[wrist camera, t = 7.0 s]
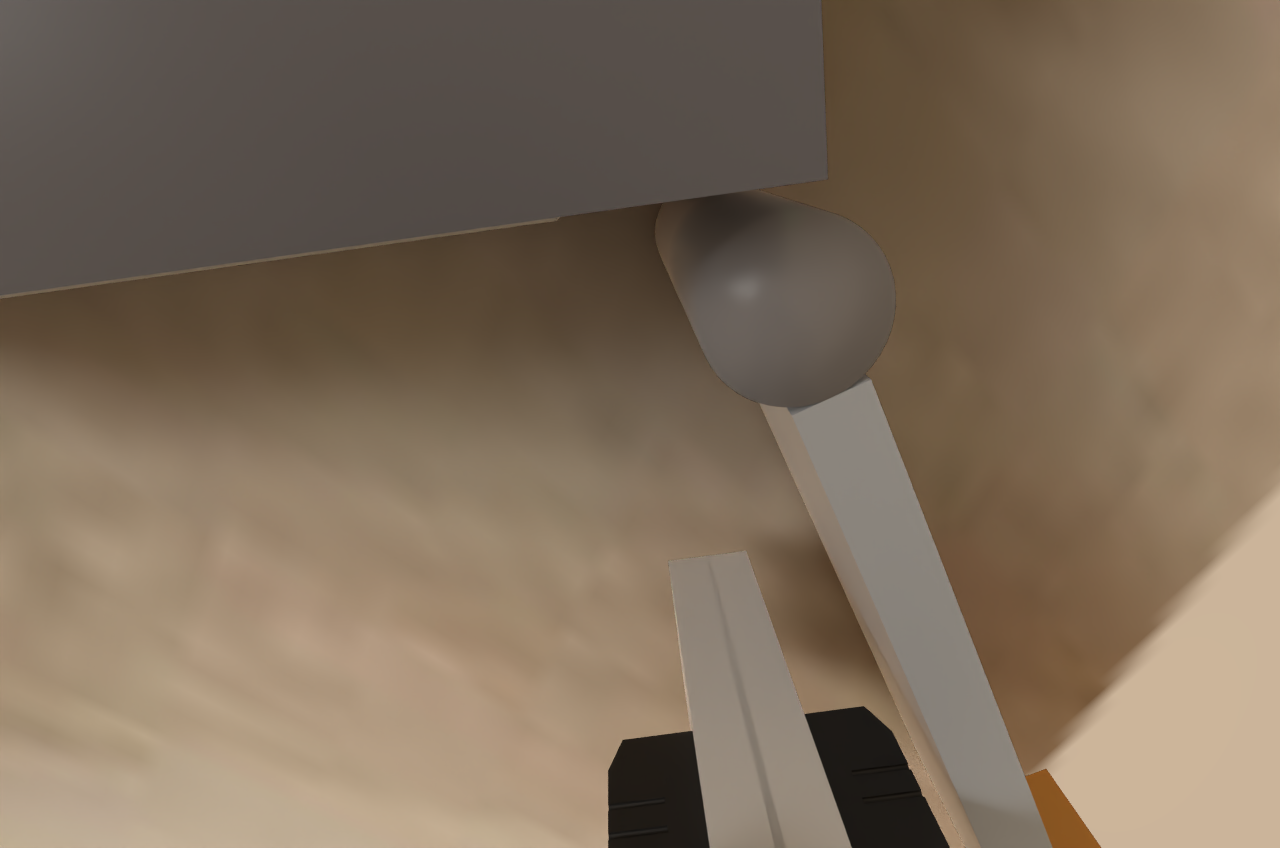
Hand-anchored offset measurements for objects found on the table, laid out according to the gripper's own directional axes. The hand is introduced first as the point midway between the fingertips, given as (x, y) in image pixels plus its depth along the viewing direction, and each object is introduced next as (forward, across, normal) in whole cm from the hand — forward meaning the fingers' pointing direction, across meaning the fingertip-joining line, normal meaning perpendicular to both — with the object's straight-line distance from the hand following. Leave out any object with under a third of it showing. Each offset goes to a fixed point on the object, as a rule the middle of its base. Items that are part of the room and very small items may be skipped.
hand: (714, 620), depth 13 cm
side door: (+2, +3, +1) cm, 4 cm away
